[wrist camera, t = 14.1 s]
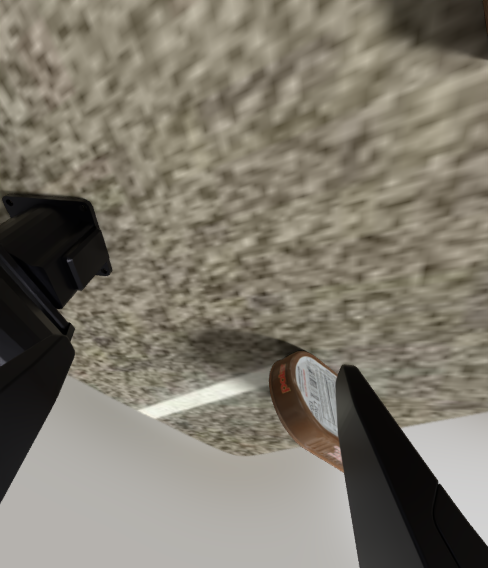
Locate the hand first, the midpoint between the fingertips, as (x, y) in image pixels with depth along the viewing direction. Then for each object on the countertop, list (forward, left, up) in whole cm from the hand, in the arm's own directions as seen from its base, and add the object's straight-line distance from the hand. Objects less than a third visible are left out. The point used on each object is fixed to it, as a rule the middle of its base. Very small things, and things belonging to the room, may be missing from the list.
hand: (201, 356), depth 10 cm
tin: (+9, -19, -13) cm, 25 cm away
